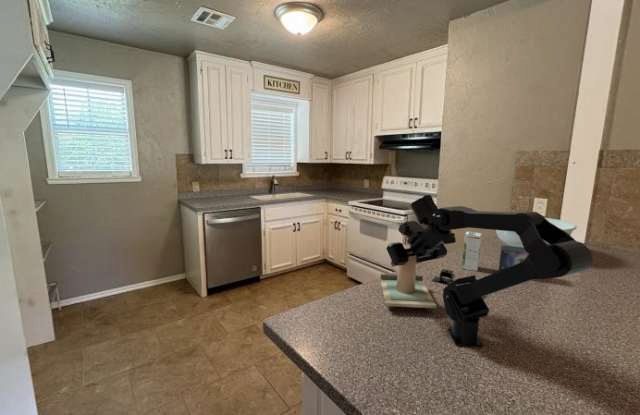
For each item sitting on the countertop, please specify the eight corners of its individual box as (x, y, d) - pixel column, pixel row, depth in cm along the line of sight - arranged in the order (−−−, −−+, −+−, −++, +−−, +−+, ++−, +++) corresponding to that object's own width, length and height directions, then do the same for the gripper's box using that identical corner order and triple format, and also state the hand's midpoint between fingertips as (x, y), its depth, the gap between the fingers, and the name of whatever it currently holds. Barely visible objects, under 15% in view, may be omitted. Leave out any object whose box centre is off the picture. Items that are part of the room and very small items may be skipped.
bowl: (474, 245, 152) (477, 217, 149) (522, 239, 161) (525, 213, 159) (536, 266, 122) (540, 231, 119) (590, 258, 131) (595, 225, 129)
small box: (499, 275, 113) (501, 249, 111) (498, 269, 118) (500, 244, 117) (533, 280, 108) (536, 253, 106) (530, 274, 114) (533, 248, 112)
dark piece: (426, 282, 109) (426, 270, 108) (432, 275, 114) (432, 264, 114) (462, 291, 101) (463, 278, 100) (467, 283, 107) (468, 271, 106)
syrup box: (463, 264, 124) (465, 231, 122) (478, 267, 121) (481, 232, 119) (461, 268, 120) (464, 234, 117) (478, 271, 117) (481, 235, 114)
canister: (414, 287, 96) (416, 245, 94) (415, 294, 91) (417, 250, 88) (396, 285, 97) (398, 244, 95) (396, 292, 92) (397, 249, 90)
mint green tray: (435, 314, 85) (436, 300, 84) (386, 312, 86) (386, 298, 86) (421, 287, 103) (422, 275, 102) (380, 286, 104) (380, 274, 103)
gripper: (442, 211, 90) (415, 238, 102) (391, 216, 83) (369, 244, 95) (461, 243, 84) (431, 267, 96) (408, 251, 77) (382, 276, 89)
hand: (403, 263), depth 94 cm, fingers open, 9 cm apart
